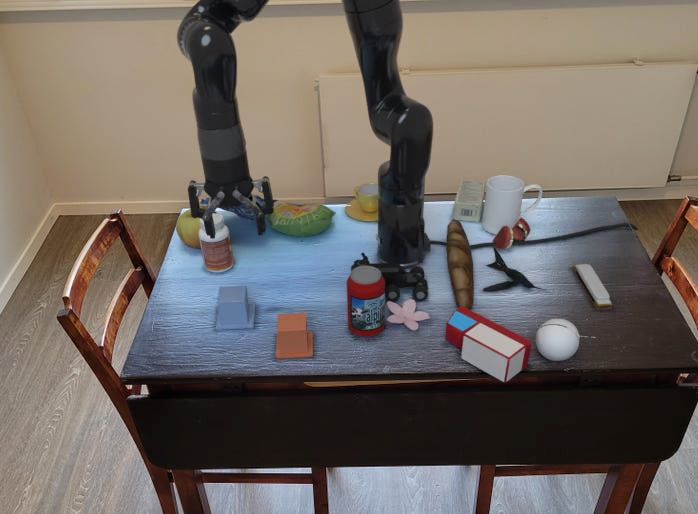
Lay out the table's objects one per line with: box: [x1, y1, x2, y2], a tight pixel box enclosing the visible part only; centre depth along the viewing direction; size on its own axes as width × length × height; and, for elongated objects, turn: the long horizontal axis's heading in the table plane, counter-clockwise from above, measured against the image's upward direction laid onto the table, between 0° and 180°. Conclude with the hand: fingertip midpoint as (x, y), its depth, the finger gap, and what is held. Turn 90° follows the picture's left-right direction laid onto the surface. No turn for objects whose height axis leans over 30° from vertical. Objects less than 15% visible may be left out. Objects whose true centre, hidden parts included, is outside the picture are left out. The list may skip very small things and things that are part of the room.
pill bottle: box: [198, 212, 235, 274], centre depth 143 cm, size 6×6×11 cm
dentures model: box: [491, 216, 531, 250], centre depth 149 cm, size 6×4×8 cm
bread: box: [445, 219, 475, 311], centre depth 142 cm, size 38×5×5 cm, turn 177°
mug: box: [481, 174, 543, 235], centre depth 153 cm, size 12×8×10 cm, turn 91°
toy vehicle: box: [350, 252, 429, 302], centre depth 135 cm, size 8×15×9 cm, turn 91°
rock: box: [199, 194, 278, 221], centre depth 155 cm, size 15×17×2 cm
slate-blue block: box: [216, 285, 250, 324], centre depth 130 cm, size 5×5×5 cm
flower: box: [385, 298, 431, 331], centre depth 130 cm, size 10×10×2 cm
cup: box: [344, 182, 378, 222], centre depth 162 cm, size 12×12×5 cm
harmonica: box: [572, 263, 614, 311], centre depth 136 cm, size 15×3×2 cm, turn 4°
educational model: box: [266, 201, 337, 237], centre depth 156 cm, size 13×16×5 cm
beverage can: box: [346, 266, 386, 338], centre depth 125 cm, size 7×7×12 cm
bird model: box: [482, 246, 546, 292], centre depth 139 cm, size 5×12×10 cm
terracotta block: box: [276, 312, 309, 353], centre depth 123 cm, size 5×5×5 cm
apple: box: [175, 205, 218, 249], centre depth 151 cm, size 10×10×8 cm
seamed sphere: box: [534, 318, 597, 362], centre depth 118 cm, size 10×7×7 cm
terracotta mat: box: [275, 331, 314, 360], centre depth 125 cm, size 6×6×1 cm
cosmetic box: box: [452, 179, 487, 223], centre depth 162 cm, size 6×4×12 cm
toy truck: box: [444, 306, 533, 383], centre depth 120 cm, size 6×15×7 cm
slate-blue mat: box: [215, 303, 257, 331], centre depth 132 cm, size 7×7×1 cm
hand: (237, 235), depth 125 cm, fingers open, 8 cm apart
